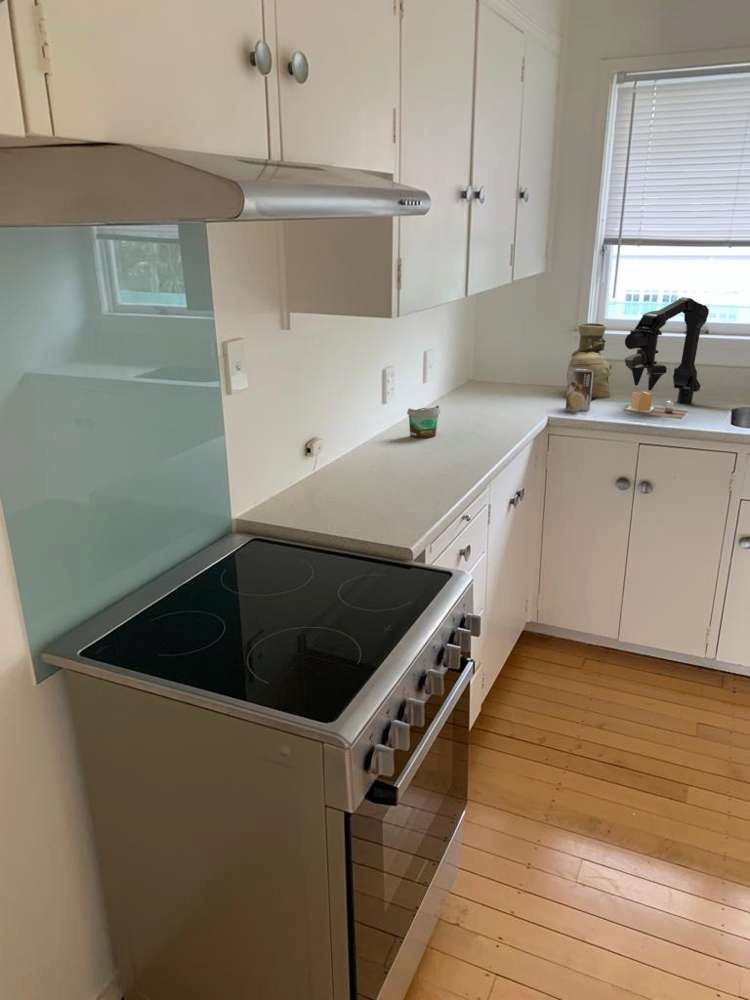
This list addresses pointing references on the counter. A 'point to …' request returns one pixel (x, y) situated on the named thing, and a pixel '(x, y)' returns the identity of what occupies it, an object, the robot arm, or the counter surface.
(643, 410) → the pad
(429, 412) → the food container
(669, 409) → the clear cylinder
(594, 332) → the ceramic vessel
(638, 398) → the box
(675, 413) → the board
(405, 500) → the counter surface
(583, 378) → the coffee box
